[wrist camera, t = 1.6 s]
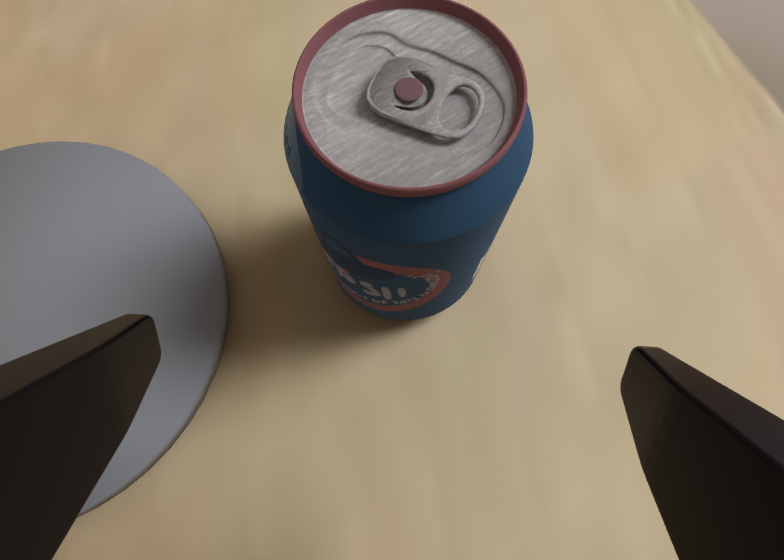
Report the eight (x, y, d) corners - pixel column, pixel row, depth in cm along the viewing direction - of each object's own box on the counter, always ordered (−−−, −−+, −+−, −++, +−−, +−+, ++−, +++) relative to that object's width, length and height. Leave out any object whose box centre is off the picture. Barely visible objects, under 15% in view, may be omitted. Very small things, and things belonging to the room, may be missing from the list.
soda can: (307, 291, 23) (212, 150, 11) (368, 171, 24) (341, -57, 13) (444, 350, 22) (494, 262, 10) (497, 221, 23) (590, 23, 12)
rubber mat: (3, 641, 19) (-18, 653, 18) (-244, 356, 22) (-273, 352, 21) (307, 288, 23) (303, 282, 22) (58, 94, 26) (45, 81, 25)
